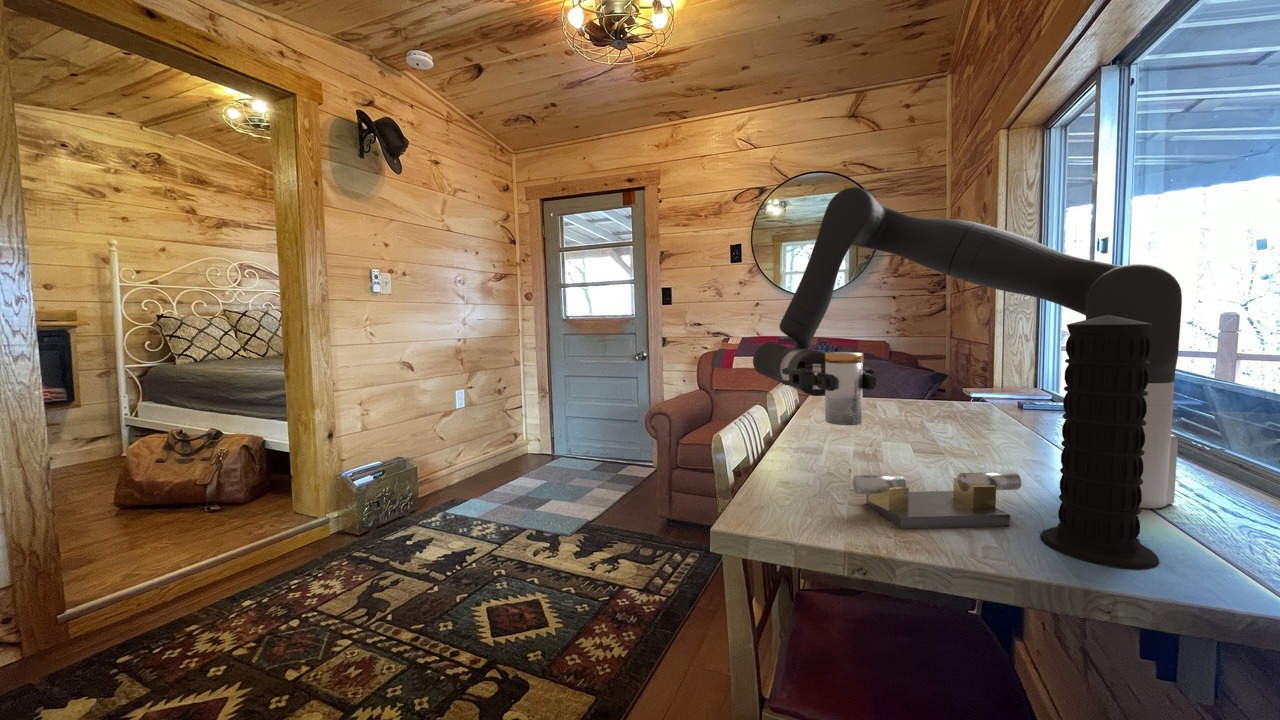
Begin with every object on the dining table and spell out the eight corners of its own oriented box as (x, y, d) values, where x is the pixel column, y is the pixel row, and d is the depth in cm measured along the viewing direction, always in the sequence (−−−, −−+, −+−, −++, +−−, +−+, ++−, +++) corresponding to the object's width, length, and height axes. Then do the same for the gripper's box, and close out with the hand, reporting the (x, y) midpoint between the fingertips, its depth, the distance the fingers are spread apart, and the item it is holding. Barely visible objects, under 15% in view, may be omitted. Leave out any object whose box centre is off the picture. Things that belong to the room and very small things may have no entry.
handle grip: (1188, 570, 51) (1107, 530, 61) (1205, 313, 49) (1118, 314, 59) (1083, 567, 52) (1020, 528, 62) (1095, 314, 50) (1028, 316, 60)
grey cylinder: (852, 417, 75) (853, 351, 74) (869, 424, 70) (870, 353, 69) (819, 418, 75) (819, 352, 74) (833, 425, 70) (833, 354, 69)
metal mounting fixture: (989, 500, 72) (990, 462, 72) (1040, 525, 63) (1042, 482, 63) (842, 503, 72) (842, 466, 71) (873, 529, 63) (873, 486, 62)
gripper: (766, 350, 86) (801, 357, 69) (849, 348, 86) (903, 354, 69) (766, 393, 86) (801, 410, 69) (848, 391, 87) (902, 408, 70)
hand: (852, 382), depth 69 cm, fingers closed on grey cylinder, 5 cm apart
